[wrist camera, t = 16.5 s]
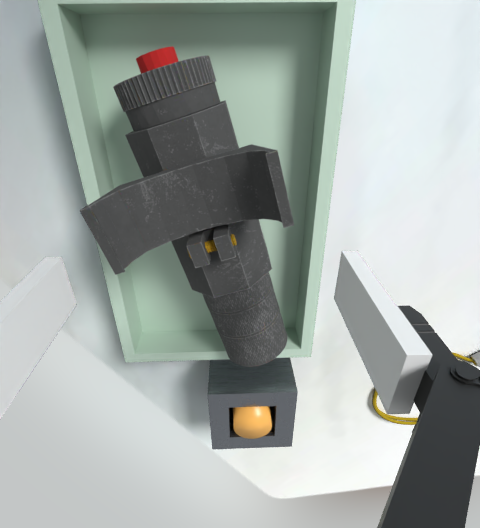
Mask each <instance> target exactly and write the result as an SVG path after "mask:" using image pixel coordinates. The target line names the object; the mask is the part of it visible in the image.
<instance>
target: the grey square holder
mask: <svg viewBox="0 0 480 528" xmlns="http://www.w3.org/2000/svg"><path fill="white" fill-rule="evenodd" d="M296 402H297V387H296V383H295V378H294V374H293V369H292V365H291V360H290V357H288V358H275V359H273V360H272V361H270V362H268V363H265V364H263V365H259V366H253V367H246V366H241V365H238V364H236V363H234V362H233V361H231V360H230V359H222V360H210V370H209V385H208V403H209V415H210V426H211V438H212V449H233V448H261V447H289V446H292V439H293V429H294V420H295V411H296ZM261 406H270V414H271V422H272V428H271V430H270V432H269V433H268V434H267V435H265V436H263V437H260V438H256V439H248V438H243V437H241V436H239V435H237V434H236V433H235V431H234V422H233V407H261Z"/></svg>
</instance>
